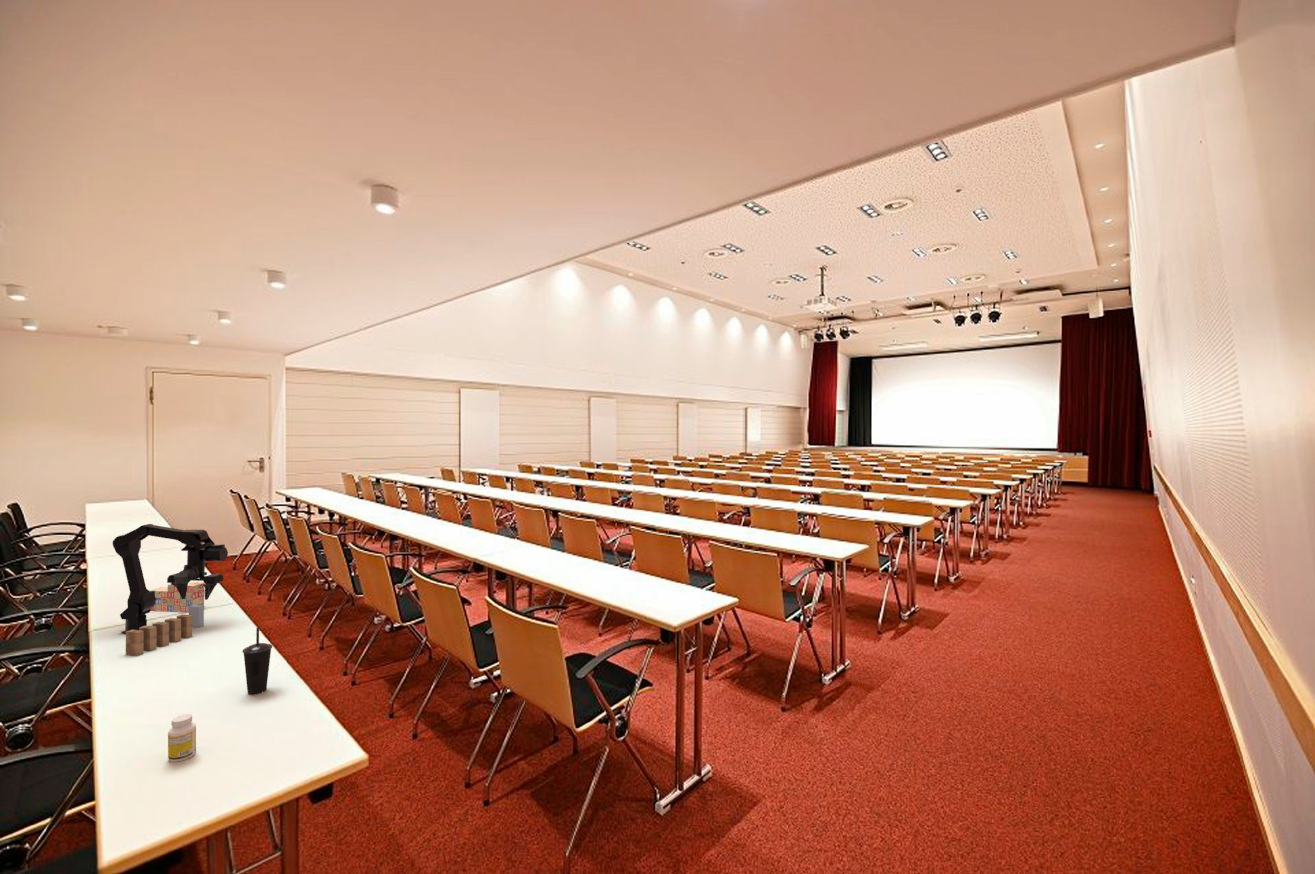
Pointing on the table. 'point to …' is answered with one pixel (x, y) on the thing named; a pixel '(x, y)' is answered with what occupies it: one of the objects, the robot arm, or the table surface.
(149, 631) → the domino
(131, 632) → the domino
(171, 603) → the stack of blocks
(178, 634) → the domino
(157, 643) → the domino
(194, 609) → the slate domino
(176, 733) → the supplement bottle
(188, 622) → the domino
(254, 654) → the drinking cup
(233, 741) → the table surface
